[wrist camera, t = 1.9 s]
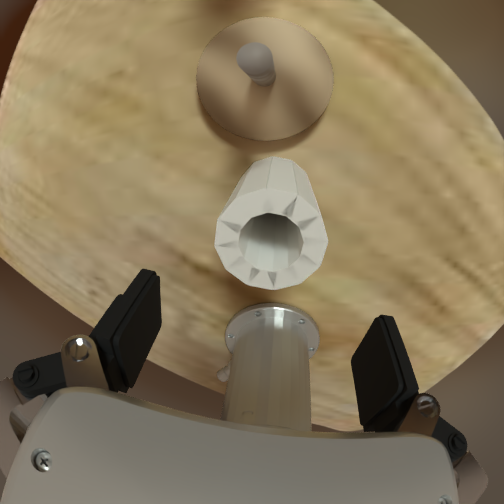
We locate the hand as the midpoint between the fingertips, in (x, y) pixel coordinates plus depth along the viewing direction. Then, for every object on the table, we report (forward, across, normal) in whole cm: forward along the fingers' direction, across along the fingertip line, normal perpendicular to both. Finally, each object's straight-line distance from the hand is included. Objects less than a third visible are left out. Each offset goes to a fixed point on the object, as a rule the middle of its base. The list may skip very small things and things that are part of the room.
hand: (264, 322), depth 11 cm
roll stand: (+18, +3, -11) cm, 21 cm away
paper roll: (+18, 0, 0) cm, 18 cm away
